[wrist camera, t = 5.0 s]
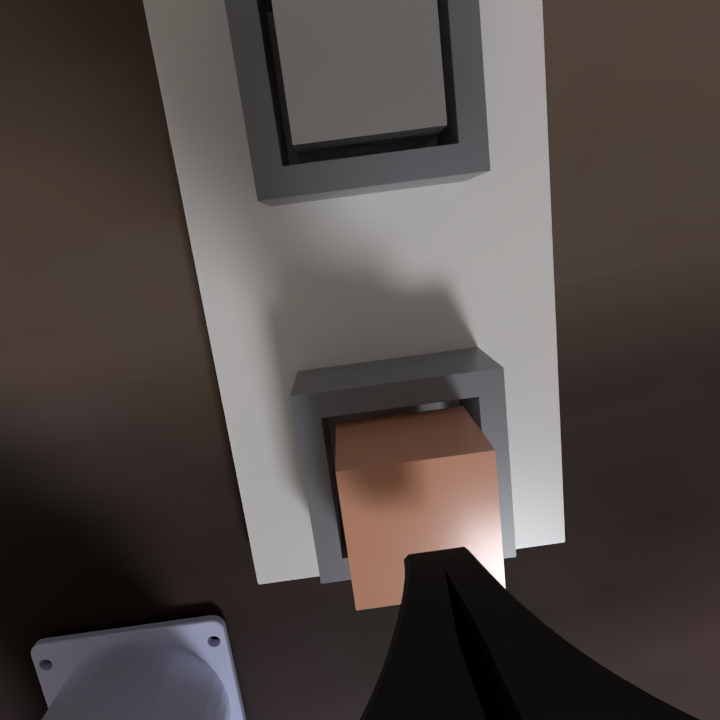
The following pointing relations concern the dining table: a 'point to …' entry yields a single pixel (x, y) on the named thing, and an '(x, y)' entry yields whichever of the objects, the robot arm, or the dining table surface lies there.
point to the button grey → (360, 75)
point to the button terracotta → (415, 496)
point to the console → (368, 269)
